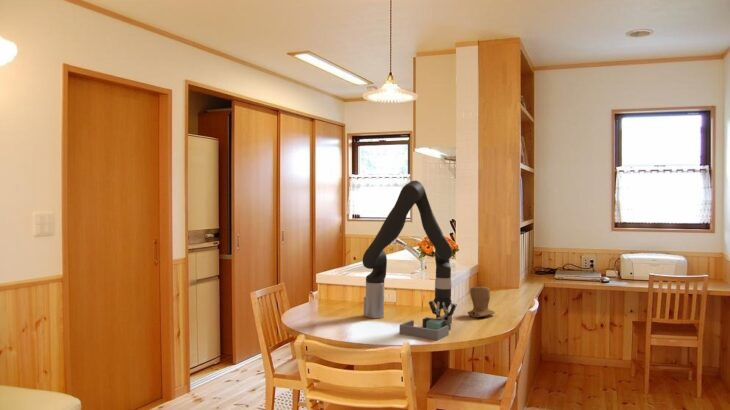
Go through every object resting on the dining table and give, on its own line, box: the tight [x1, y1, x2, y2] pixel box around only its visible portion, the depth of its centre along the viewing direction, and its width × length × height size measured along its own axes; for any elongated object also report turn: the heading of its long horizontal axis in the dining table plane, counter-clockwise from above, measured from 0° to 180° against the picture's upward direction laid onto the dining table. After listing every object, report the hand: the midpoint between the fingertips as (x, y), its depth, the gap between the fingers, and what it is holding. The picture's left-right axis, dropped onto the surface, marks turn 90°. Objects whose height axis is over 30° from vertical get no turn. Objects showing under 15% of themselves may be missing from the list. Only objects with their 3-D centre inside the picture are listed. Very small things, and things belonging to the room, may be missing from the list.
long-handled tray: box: [421, 314, 453, 331], centre depth 266 cm, size 12×16×4 cm
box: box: [398, 319, 450, 341], centre depth 251 cm, size 18×11×4 cm, turn 58°
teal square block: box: [426, 319, 444, 330], centre depth 259 cm, size 6×6×4 cm
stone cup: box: [467, 286, 496, 318], centre depth 291 cm, size 15×12×15 cm
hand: (442, 323), depth 267 cm, fingers closed on long-handled tray, 3 cm apart
